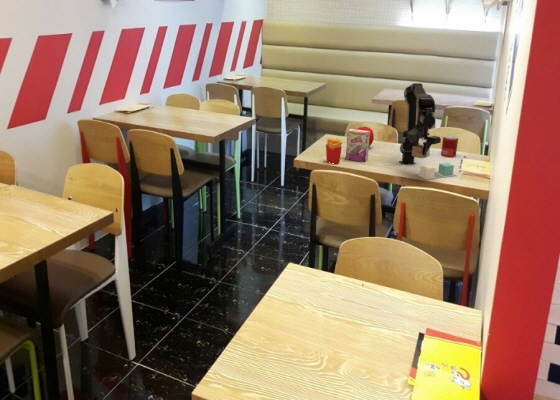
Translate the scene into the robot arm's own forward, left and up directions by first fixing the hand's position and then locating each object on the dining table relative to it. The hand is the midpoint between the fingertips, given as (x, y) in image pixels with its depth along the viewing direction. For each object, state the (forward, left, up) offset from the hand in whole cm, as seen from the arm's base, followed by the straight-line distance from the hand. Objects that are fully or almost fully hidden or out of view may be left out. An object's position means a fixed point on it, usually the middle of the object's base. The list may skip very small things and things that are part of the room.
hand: (419, 154), depth 262 cm
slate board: (+3, +9, -12) cm, 15 cm away
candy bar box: (-34, -15, -12) cm, 39 cm away
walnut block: (0, 0, -1) cm, 1 cm away
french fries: (-34, -29, -12) cm, 46 cm away
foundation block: (+3, +4, -11) cm, 12 cm away
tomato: (-54, 0, -12) cm, 55 cm away
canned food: (-25, +38, -12) cm, 47 cm away
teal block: (+3, +15, -11) cm, 19 cm away
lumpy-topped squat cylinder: (-32, +23, -12) cm, 41 cm away
